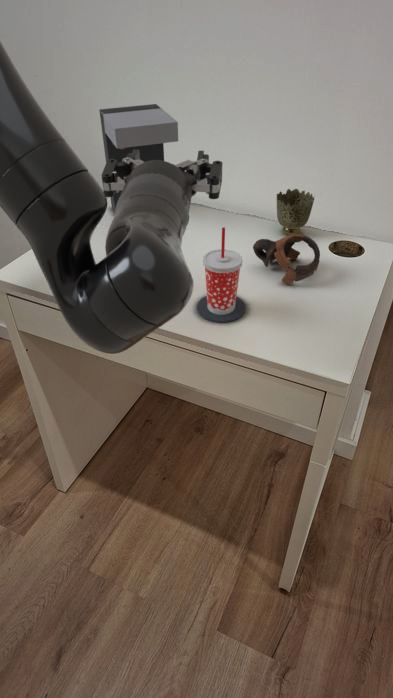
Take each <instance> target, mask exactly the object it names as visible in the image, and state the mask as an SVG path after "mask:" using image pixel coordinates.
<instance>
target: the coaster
mask: <svg viewBox="0 0 393 698" xmlns="http://www.w3.org/2000/svg"><path fill="white" fill-rule="evenodd" d="M246 308H247V307H246V304H245V301H243V299H242V298H240V297H239V296H236V304H235V309H234V311H233V312H231V313H229V314H225V315H218V314H214V313H212V312H210V311H209V310H208V308H207V295H205V296H203V297H202V298H201V299H199V301H198V303H197V305H196V311H197V312H198V315H200V316H201V317H202V318H203V319H204V320H207V321H209V322H213V323H221V324H223V323H225V324H226V323H231V322H235V321H236V320H239V319H240V318H242V317H243V316H244V314H245V313H246Z"/></svg>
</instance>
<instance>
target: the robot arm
mask: <svg viewBox="0 0 393 698" xmlns="http://www.w3.org/2000/svg"><path fill="white" fill-rule="evenodd" d="M30 90H31V89H29V87H28V86H27V84H26V82H25V81H24V79H23V78H22V76H21V74H20V73H19V71H18V69H17V68H16V66H15V64H14V62H13V61H12V59H11V57H10V55H9V54H8V52H7V50H6V48H5V46H4V45H3V42H2V41H1V40H0V208H1V210H2V211H3V212H4V213H5V214H6V216H7V217H8V218H9V219H10V221H11V222H12V223H13V224H14V225H15V226H16V228H17V229H18V230H19V232H20V233H21V234H22V235H23V236H24V238H25V239H26V241H27V242H28V244H29V246H30V248H31V250H32V253H33V255H34V257H35V260H36V261H37V263H38V266H39V268H40V270H41V272H42V274H43V276H44V278H45V280H46V282H47V284H48V288H49V289H50V291H51V294H52V296H53V298H54V301H55V302H56V304H57V306H58V308H59V311H60V313H61V315H62V317H63V319H64V321H65V322H66V324H67V325H68V327H69V328H70V330H71V331H72V332H73V333H74V335H75V336H77V338H79V340H81V341H82V342H83V343H84V344H85V345H87V346H88V347H90V348H92V349H94V350H96V351H98V352H100V353H104V354H109V355H114V354H120V353H122V352H125V351H127V350H129V349H130V348H132V347H134V346H135V345H136V344H138V343H139V342H141V341H142V340H143V339H145V338H146V337H148V336H149V335H150V334H152V333H153V332H155V331H157V330H158V329H160V328H161V327H162V326H164V325H165V324H167V323H168V322H169V321H171V320H173V319H174V318H175V317H177V316H178V315H179V314H180V313H182V312H183V311H184V309H185V308H186V307H187V305H188V303H189V302H190V300H191V297H192V296H193V291H194V278H193V275H192V272H191V270H190V268H189V266H188V264H187V262H186V260H185V257H184V253H183V250H182V245H183V238H184V235H185V233H186V230H187V228H188V227H187V226H188V224H189V222H190V221H189V220H190V209H191V203H192V197H194V196H195V195H196V194H197V193H205V194H206V195H208V199H210V200H218V199H219V198H220V194H221V188H222V183H223V161H221V160H213V161H212V163H211V162H210V155H209V154H206V153H205V150H198V151H197V158H196V160H194V161H193V160H191V159H186V160H184V161H182V162H179V163H176V164H174V163H172V162H169V161H166V160H164V161H161V160H151V161H147V162H144V161H142V160H140V154H139V150H133V152H132V153H129V154H128V155H127V157H126V158H123V159H122V161H123V162H119V163H117V160H116V159H109V160H107V162H106V161H105V165H104V168H103V171H102V173H101V183H102V187H101V186H100V184H99V183H98V182H97V180H96V179H95V177H94V176H93V175H92V173H91V172H90V171H89V169H88V168H87V167H86V165H85V164H84V163H83V161H82V160H81V159H80V157H79V156H78V155H77V154H76V152H75V151H74V150H73V148H72V147H71V146H70V144H69V143H68V142H67V141H66V139H65V137H63V135H62V134H61V133H60V131H59V129H57V127H56V126H55V125H54V123H53V122H52V121H51V119H50V118H49V117H48V115H47V114H46V112H45V111H44V110H43V108H42V107H41V105H40V104H39V103H38V101H37V99H36V98H35V96H34V94H32V92H31V91H30ZM120 177H124V179H125V180H122V179H121V178H120ZM119 190H123V191H122V193H121V195H120V197H119V200H118V202H117V205H116V210H115V213H114V215H113V218H112V220H111V223H110V225H109V227H108V231H107V234H106V237H105V245H104V250H105V257H103V258H102V259H100V261H99V262H97V261H96V260H95V257H94V253H93V250H92V245H91V240H92V237H93V234H94V232H95V230H96V228H97V227H98V225H99V224H100V223H101V221H102V220H103V218H104V216H105V214H106V212H107V209H108V199H107V198H111V197H112V196H114V194H115V192H119ZM96 262H97V263H96Z"/></svg>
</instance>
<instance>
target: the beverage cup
mask: <svg viewBox="0 0 393 698" xmlns="http://www.w3.org/2000/svg"><path fill="white" fill-rule="evenodd" d="M225 244H226V227H225V226H224V227H221V247H220V248H217V249H212V250H209V251H207V252H206V253H205V254H204V255H203V256H202V266H203V267H204V275H205V286H206V287H205V290H206V296H207V308H208V310H209V311H210V312H212V313H214V314H218V315H225V314H229V313H231V312H233V311H234V309H235V304H236V296H237V295H238V288H239V280H240V272H241V271H240V270H241V267H242V266H243V256H242V255H241V253H239V252H237V251H235V250H233V249H227V248H225ZM237 297H238V296H237Z"/></svg>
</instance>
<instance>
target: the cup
mask: <svg viewBox="0 0 393 698" xmlns="http://www.w3.org/2000/svg"><path fill="white" fill-rule="evenodd" d="M314 201H315V196H313V193H311V192H309V191H308V192H306V191H305V190H302V191H300V190H299V189H298V188H294V189H293V190H291V189H290V188H287V189H286V192H285V193H283V191H279V192H278V193H276V219H277V221H278V224H279V225H280V226H281V227H282V228H281V229H282V232H283V234H284V235H286V236H288V235H291V234H300V232H301V228H304V226H305V225H306V224H307V223H308V221H309V219H310V216H311V213H312V209H313V205H314Z"/></svg>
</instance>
